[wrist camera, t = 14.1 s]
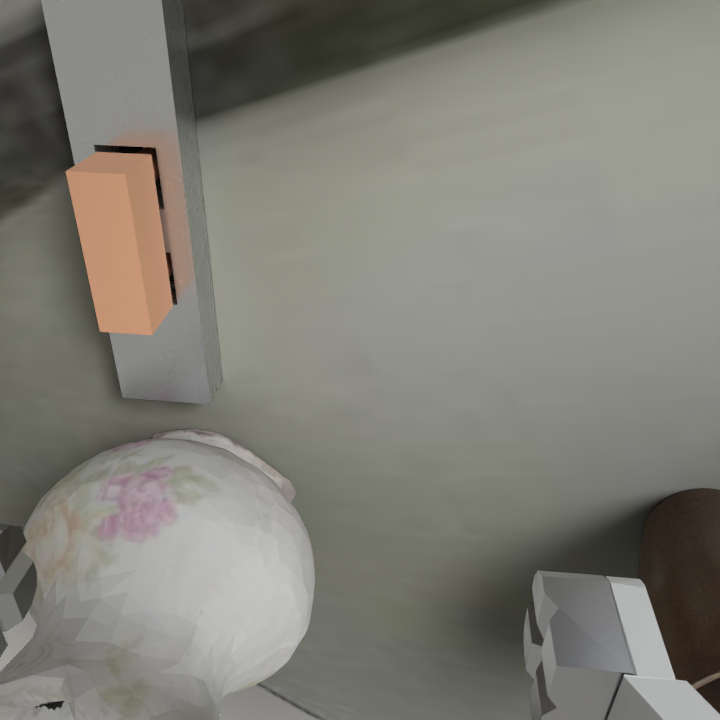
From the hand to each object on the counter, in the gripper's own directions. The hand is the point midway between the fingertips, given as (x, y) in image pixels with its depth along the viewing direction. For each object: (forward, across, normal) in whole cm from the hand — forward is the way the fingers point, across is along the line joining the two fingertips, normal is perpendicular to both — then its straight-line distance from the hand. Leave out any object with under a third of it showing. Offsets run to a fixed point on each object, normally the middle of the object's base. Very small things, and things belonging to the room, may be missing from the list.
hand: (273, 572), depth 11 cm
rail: (+31, +14, +6) cm, 35 cm away
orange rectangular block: (+31, +14, +6) cm, 35 cm away
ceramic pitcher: (+31, +14, +29) cm, 45 cm away
